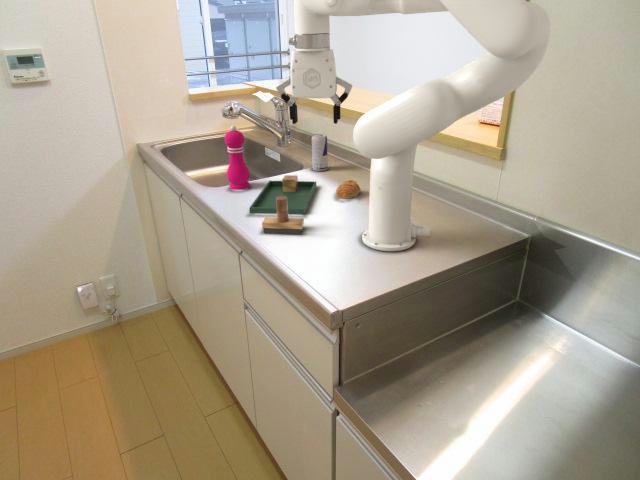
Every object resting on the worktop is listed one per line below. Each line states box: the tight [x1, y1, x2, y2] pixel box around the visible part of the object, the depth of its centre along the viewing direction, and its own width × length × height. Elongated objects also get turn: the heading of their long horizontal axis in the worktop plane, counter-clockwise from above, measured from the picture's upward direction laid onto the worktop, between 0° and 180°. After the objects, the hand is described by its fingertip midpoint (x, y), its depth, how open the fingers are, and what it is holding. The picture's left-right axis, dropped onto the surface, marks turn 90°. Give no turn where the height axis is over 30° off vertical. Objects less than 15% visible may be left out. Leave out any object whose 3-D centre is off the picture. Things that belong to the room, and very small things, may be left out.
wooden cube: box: [281, 174, 299, 192], centre depth 138 cm, size 4×4×4 cm
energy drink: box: [311, 133, 329, 172], centre depth 158 cm, size 5×5×12 cm
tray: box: [249, 180, 317, 216], centre depth 132 cm, size 15×23×2 cm, turn 172°
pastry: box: [336, 179, 361, 200], centre depth 134 cm, size 9×7×4 cm
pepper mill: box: [224, 124, 251, 191], centre depth 140 cm, size 7×7×20 cm
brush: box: [261, 196, 305, 235], centre depth 112 cm, size 10×4×9 cm, turn 82°
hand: (315, 122), depth 105 cm, fingers open, 9 cm apart
